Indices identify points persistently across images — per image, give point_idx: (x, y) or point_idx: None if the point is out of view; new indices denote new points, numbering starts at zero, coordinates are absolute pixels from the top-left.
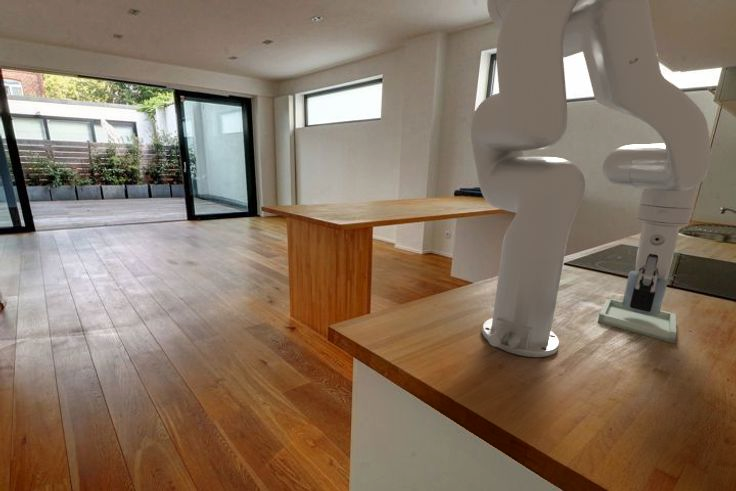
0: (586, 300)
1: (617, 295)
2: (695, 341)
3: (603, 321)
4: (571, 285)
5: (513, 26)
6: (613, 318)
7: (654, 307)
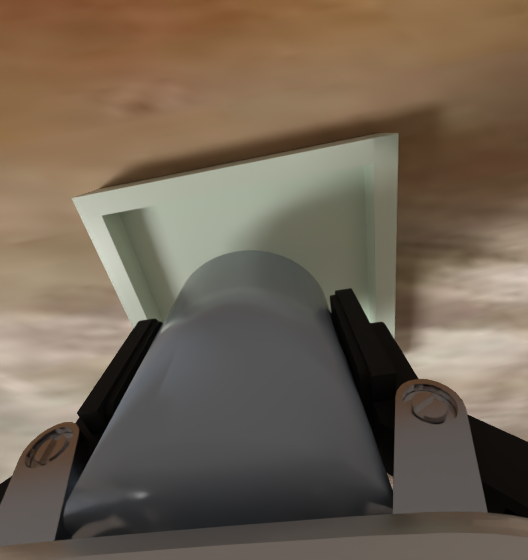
0: None
1: (31, 388)
2: (264, 60)
3: None
4: None
5: None
6: None
7: (307, 288)
